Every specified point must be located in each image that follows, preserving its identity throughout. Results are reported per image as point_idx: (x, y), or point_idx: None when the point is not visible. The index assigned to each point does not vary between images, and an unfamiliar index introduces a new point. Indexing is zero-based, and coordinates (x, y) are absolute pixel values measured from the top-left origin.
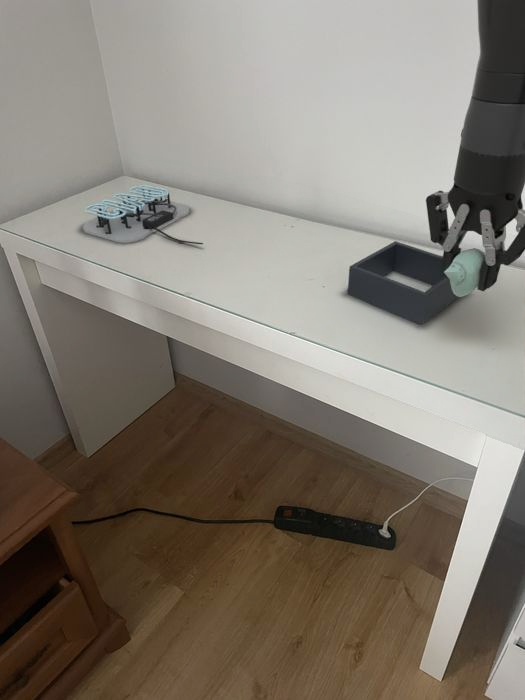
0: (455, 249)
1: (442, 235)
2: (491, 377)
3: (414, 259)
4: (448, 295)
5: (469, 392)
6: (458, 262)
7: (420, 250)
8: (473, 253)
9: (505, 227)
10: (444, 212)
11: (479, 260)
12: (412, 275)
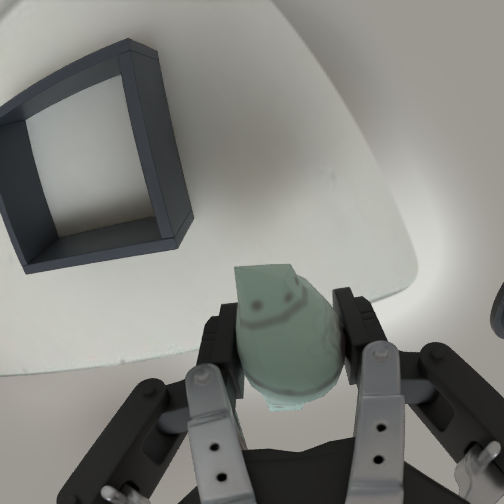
0: (232, 387)
1: (184, 431)
2: (371, 247)
3: (29, 106)
4: (162, 125)
5: (363, 296)
6: (283, 403)
7: (19, 99)
8: (309, 401)
9: (403, 433)
10: (128, 469)
11: (333, 386)
12: (53, 102)
